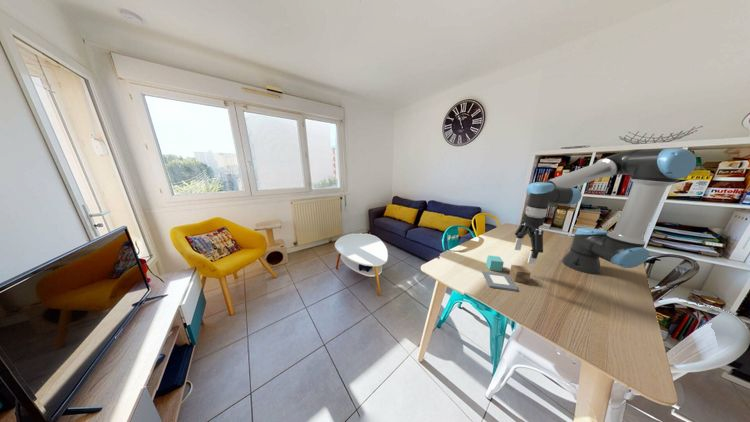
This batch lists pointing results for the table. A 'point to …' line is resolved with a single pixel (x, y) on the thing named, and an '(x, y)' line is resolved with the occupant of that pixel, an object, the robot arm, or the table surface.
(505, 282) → the build pad
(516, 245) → the robot arm
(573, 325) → the table surface
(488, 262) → the teal block
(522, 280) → the walnut block
